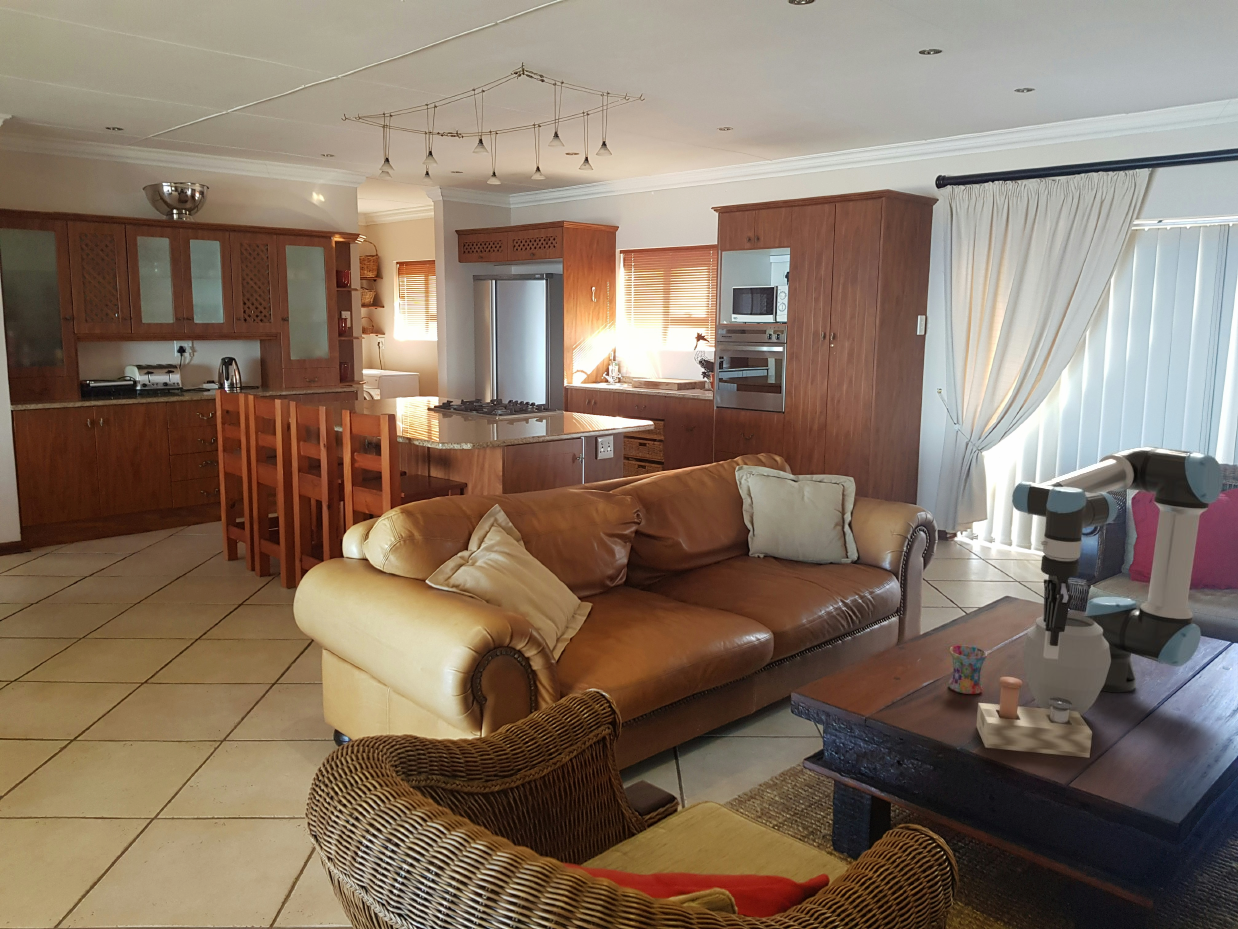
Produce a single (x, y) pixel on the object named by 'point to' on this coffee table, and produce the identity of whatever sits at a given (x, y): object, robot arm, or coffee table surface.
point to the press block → (1033, 731)
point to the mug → (967, 669)
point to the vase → (1068, 663)
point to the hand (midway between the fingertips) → (1050, 657)
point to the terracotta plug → (1009, 697)
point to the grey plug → (1059, 710)
